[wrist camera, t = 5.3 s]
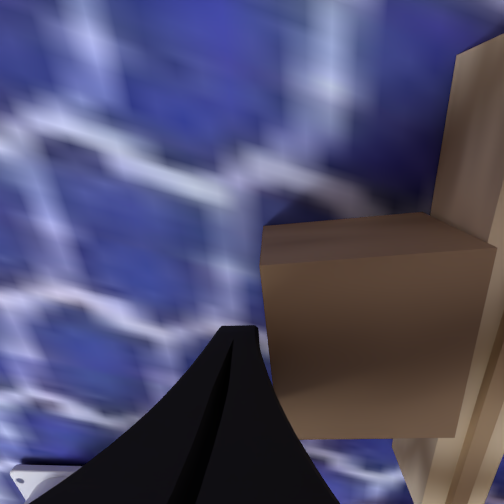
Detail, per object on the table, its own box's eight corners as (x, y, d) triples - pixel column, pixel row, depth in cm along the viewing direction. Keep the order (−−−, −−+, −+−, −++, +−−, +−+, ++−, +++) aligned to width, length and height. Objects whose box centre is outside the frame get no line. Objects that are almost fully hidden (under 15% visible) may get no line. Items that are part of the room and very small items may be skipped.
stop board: (440, 447, 15) (483, 526, 12) (391, 446, 15) (422, 524, 12) (545, 46, 8) (703, -9, 5) (456, 55, 9) (558, 7, 6)
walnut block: (403, 354, 13) (454, 437, 10) (277, 359, 14) (279, 439, 10) (418, 210, 11) (497, 248, 7) (263, 224, 11) (259, 265, 8)
